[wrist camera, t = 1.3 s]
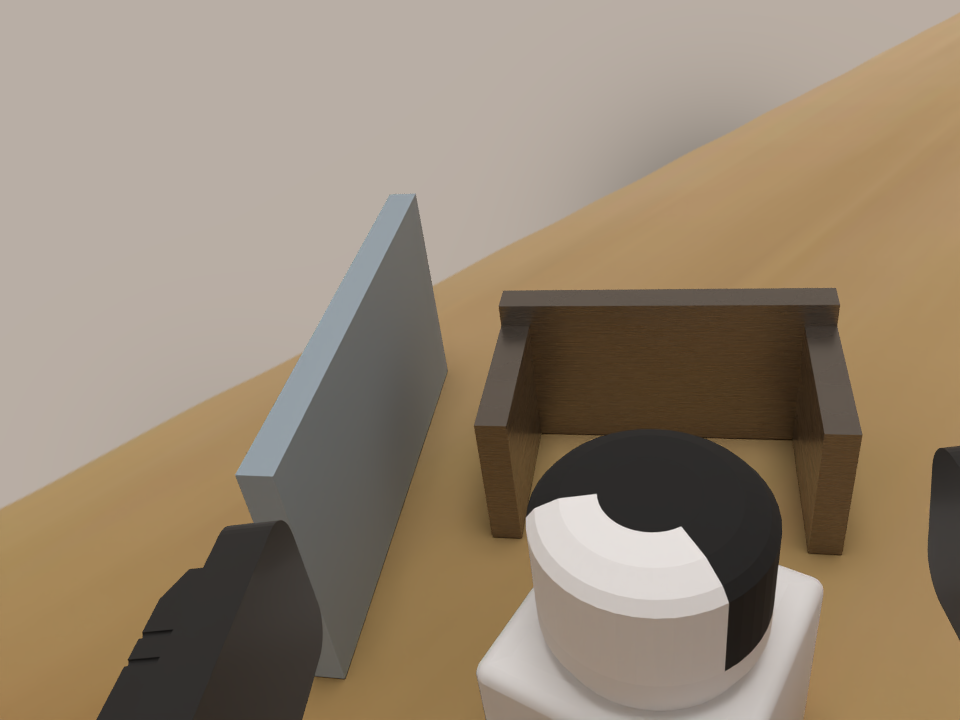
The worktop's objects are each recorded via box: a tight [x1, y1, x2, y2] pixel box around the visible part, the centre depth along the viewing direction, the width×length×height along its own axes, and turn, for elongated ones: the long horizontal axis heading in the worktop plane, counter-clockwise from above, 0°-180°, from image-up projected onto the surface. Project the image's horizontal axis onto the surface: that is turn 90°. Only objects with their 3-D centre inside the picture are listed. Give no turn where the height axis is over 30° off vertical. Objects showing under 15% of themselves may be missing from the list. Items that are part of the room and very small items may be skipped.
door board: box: [235, 194, 448, 679], centre depth 36 cm, size 1×18×10 cm, turn 171°
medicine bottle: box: [476, 429, 823, 720], centre depth 25 cm, size 7×7×12 cm
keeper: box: [474, 288, 862, 555], centre depth 36 cm, size 13×8×7 cm, turn 80°
